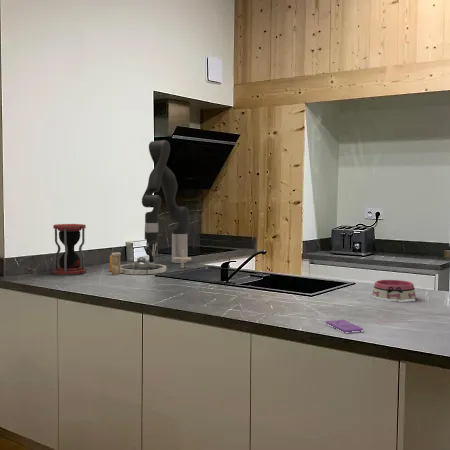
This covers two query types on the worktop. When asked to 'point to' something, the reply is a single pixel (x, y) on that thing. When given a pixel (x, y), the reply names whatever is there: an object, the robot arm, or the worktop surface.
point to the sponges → (344, 325)
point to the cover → (141, 264)
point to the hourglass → (69, 249)
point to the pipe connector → (182, 259)
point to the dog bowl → (394, 289)
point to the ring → (127, 271)
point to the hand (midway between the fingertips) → (151, 262)
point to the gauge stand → (116, 263)
